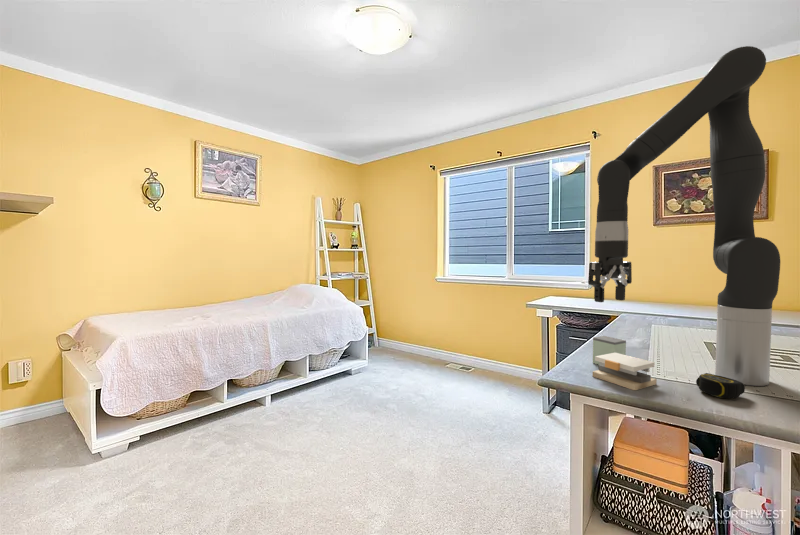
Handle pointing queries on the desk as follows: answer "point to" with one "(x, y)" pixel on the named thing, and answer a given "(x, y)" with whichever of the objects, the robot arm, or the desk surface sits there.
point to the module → (607, 346)
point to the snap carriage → (624, 363)
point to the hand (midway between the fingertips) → (609, 301)
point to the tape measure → (720, 386)
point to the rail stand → (624, 378)
